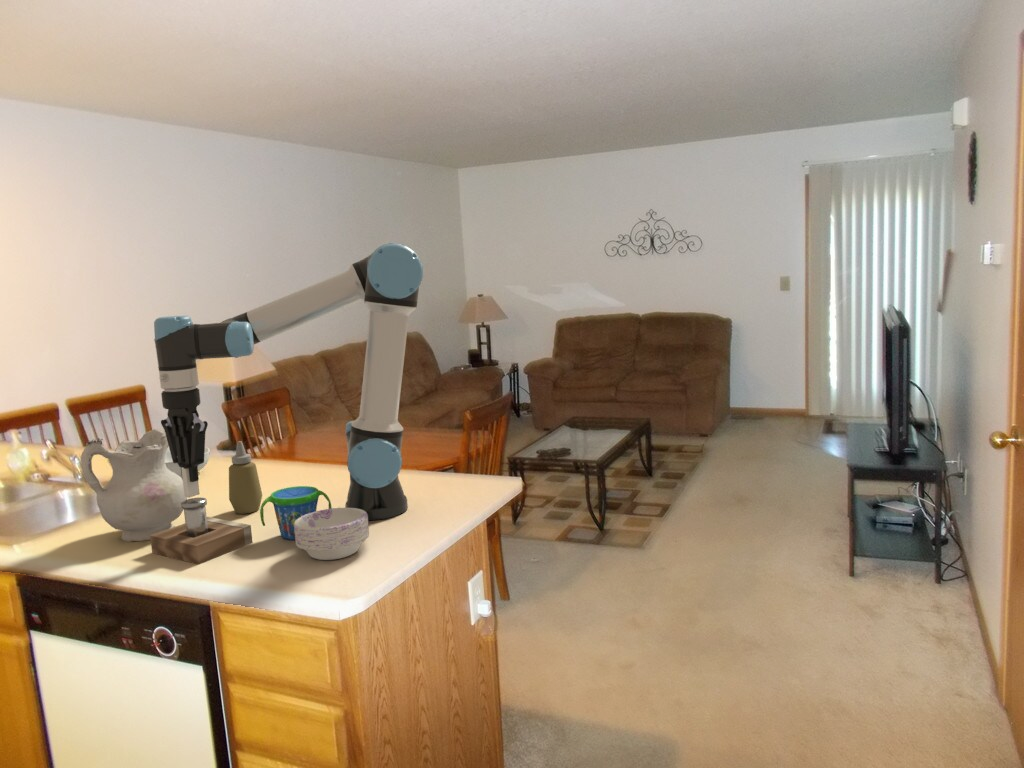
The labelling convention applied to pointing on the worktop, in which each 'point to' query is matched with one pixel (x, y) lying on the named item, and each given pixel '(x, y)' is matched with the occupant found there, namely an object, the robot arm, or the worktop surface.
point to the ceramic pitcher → (136, 486)
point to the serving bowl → (175, 467)
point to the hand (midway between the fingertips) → (192, 495)
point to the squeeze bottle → (244, 482)
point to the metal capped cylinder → (195, 516)
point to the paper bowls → (331, 532)
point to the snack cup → (292, 506)
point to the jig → (202, 541)
